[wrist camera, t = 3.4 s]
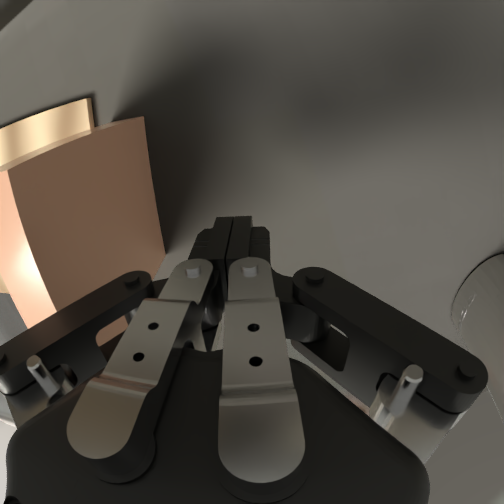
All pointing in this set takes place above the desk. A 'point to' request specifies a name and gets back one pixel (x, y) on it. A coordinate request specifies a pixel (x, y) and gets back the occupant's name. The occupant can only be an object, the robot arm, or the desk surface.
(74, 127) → the gold metal plate
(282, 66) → the desk surface
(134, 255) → the tile
